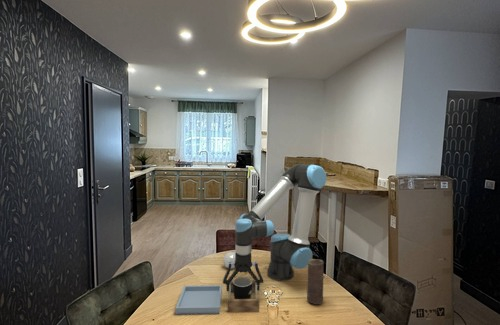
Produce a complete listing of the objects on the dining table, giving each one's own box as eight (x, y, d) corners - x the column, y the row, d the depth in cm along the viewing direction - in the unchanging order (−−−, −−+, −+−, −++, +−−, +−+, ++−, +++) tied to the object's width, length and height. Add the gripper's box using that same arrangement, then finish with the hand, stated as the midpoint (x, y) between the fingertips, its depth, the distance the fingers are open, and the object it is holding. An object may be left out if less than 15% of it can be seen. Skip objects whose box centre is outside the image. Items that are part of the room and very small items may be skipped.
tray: (222, 290, 138) (222, 285, 138) (219, 313, 119) (219, 307, 119) (184, 291, 137) (184, 285, 137) (175, 314, 118) (175, 308, 118)
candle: (319, 308, 124) (320, 265, 123) (304, 303, 128) (305, 261, 127) (324, 300, 130) (325, 259, 129) (310, 295, 134) (310, 256, 133)
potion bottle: (226, 274, 159) (232, 266, 174) (240, 265, 158) (244, 257, 173) (218, 260, 160) (224, 253, 175) (231, 251, 160) (236, 245, 174)
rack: (256, 290, 139) (256, 281, 138) (259, 311, 121) (259, 300, 121) (228, 291, 138) (228, 281, 138) (227, 312, 121) (227, 301, 120)
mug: (250, 308, 123) (251, 287, 122) (231, 307, 124) (231, 285, 124) (253, 294, 135) (253, 274, 134) (235, 293, 136) (236, 273, 135)
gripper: (267, 249, 132) (267, 292, 134) (218, 249, 131) (218, 293, 133) (269, 255, 125) (269, 301, 126) (217, 255, 124) (217, 301, 125)
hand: (243, 297), depth 129 cm, fingers open, 12 cm apart
